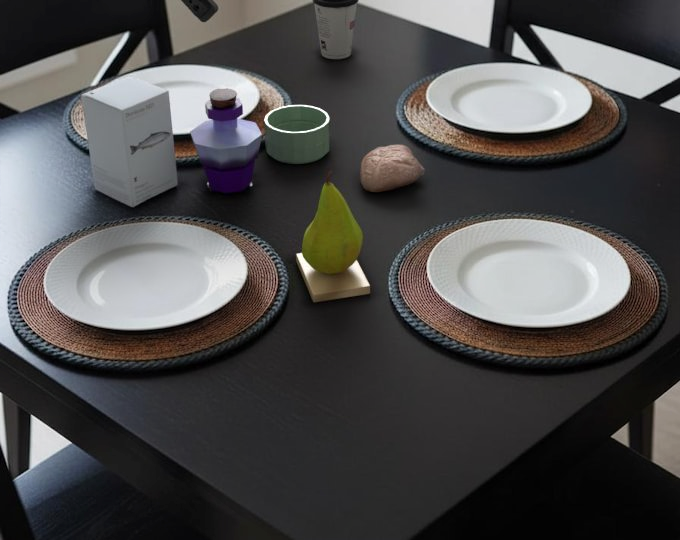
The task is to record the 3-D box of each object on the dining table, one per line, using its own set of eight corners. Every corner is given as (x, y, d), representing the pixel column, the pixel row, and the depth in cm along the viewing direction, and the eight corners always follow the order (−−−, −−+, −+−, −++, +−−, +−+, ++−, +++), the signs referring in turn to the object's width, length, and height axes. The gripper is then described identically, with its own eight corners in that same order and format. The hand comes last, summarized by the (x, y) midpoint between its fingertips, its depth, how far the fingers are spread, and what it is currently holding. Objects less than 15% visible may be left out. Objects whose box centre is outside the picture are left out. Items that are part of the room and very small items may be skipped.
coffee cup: (315, 63, 159) (314, -2, 153) (312, 46, 164) (310, -17, 159) (361, 61, 159) (361, -4, 154) (356, 44, 165) (356, -19, 159)
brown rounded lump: (413, 161, 132) (353, 151, 129) (431, 132, 127) (369, 122, 124) (418, 211, 128) (356, 202, 126) (437, 184, 123) (372, 174, 121)
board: (313, 302, 106) (313, 294, 106) (296, 261, 113) (295, 253, 112) (370, 293, 107) (370, 285, 107) (349, 253, 114) (349, 245, 113)
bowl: (273, 169, 130) (271, 136, 128) (260, 140, 137) (258, 108, 135) (336, 160, 132) (336, 128, 130) (321, 132, 139) (320, 101, 136)
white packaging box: (133, 209, 122) (119, 110, 115) (93, 189, 126) (78, 92, 119) (180, 186, 127) (170, 89, 120) (140, 167, 131) (128, 73, 124)
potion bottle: (238, 160, 132) (232, 71, 126) (279, 186, 127) (275, 94, 120) (180, 182, 128) (170, 90, 121) (220, 209, 122) (212, 115, 115)
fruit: (341, 246, 113) (340, 146, 107) (373, 272, 109) (374, 170, 102) (290, 263, 110) (286, 162, 104) (321, 291, 106) (319, 188, 99)
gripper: (96, -140, 92) (222, 2, 95) (172, -170, 103) (283, -43, 106) (54, -84, 97) (176, 50, 100) (131, -119, 108) (239, 2, 111)
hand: (231, 2), depth 103 cm, fingers open, 8 cm apart
